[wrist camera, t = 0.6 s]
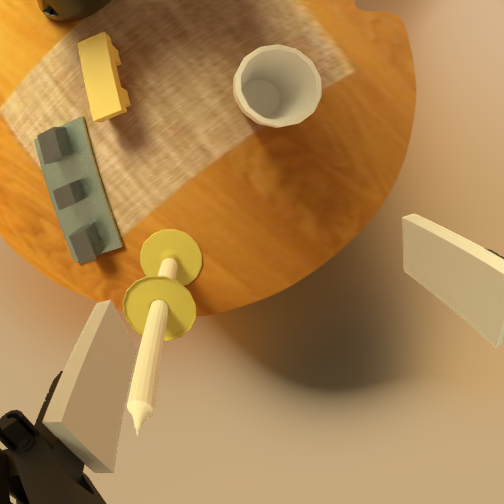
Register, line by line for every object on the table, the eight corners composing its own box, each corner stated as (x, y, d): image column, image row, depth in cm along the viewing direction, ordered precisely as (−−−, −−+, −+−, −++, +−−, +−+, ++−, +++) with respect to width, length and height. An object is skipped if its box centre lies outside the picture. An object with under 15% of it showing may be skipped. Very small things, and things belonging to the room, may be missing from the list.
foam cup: (254, 142, 43) (273, 144, 31) (212, 95, 40) (215, 78, 28) (302, 104, 42) (338, 94, 30) (263, 58, 39) (285, 30, 26)
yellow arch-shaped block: (92, 54, 34) (77, 43, 28) (116, 44, 34) (104, 31, 28) (108, 123, 39) (93, 121, 32) (132, 113, 39) (121, 109, 33)
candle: (136, 281, 48) (78, 453, 18) (144, 222, 45) (59, 369, 15) (196, 293, 50) (198, 474, 20) (208, 235, 47) (222, 401, 17)
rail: (37, 139, 37) (21, 141, 32) (83, 116, 37) (70, 114, 33) (77, 260, 45) (65, 272, 40) (123, 244, 45) (115, 256, 41)
